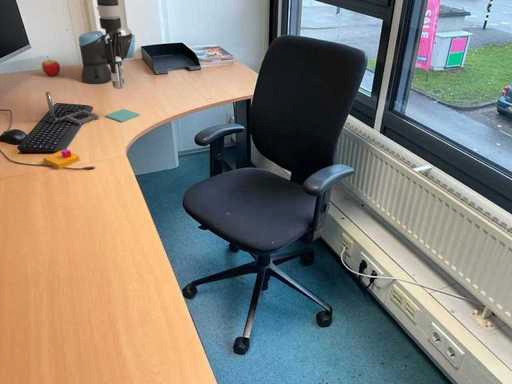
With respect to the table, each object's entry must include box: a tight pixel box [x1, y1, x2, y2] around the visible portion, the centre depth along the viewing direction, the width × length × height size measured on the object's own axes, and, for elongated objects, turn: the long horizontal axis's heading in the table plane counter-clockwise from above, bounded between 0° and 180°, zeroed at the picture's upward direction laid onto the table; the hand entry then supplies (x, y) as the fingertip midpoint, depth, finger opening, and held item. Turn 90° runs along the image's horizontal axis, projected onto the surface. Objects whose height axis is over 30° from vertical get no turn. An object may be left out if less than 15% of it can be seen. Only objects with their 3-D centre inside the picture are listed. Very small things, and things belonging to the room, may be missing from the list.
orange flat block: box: [42, 148, 81, 170], centre depth 140 cm, size 8×8×4 cm
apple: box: [41, 55, 61, 77], centre depth 218 cm, size 8×8×10 cm
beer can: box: [111, 56, 126, 90], centre depth 167 cm, size 5×5×12 cm
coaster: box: [104, 108, 141, 123], centre depth 177 cm, size 10×10×1 cm
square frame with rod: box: [45, 91, 99, 126], centre depth 168 cm, size 14×14×12 cm
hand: (117, 78), depth 169 cm, fingers closed on beer can, 5 cm apart
